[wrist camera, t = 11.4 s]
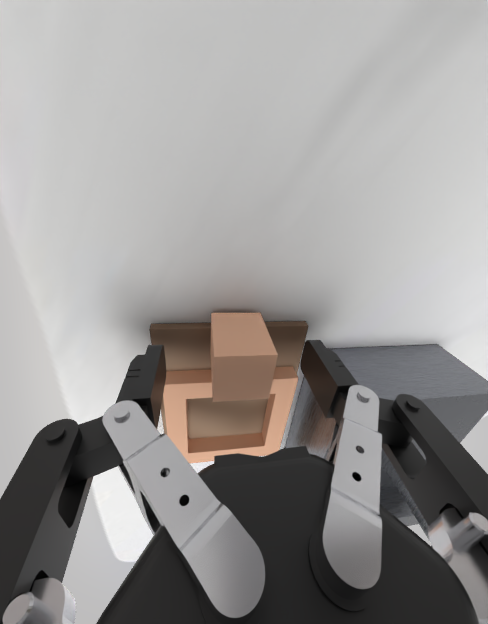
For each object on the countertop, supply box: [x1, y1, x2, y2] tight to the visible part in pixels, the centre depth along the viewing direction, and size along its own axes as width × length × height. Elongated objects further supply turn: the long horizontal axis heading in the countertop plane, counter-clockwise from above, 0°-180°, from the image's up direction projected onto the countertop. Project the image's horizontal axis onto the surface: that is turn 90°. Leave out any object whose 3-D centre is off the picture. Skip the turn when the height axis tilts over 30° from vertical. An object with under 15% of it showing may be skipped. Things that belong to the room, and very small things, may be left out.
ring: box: [163, 313, 299, 463], centre depth 16 cm, size 14×9×4 cm, turn 175°
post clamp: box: [285, 345, 488, 541], centre depth 14 cm, size 15×11×19 cm
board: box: [150, 321, 308, 439], centre depth 19 cm, size 14×10×1 cm
